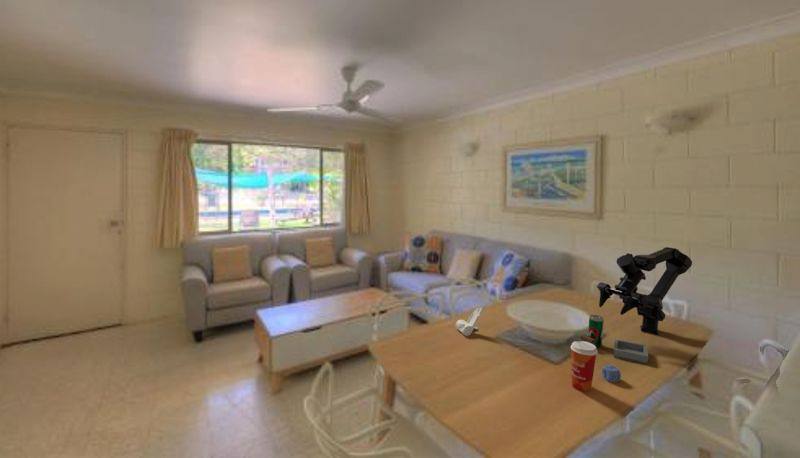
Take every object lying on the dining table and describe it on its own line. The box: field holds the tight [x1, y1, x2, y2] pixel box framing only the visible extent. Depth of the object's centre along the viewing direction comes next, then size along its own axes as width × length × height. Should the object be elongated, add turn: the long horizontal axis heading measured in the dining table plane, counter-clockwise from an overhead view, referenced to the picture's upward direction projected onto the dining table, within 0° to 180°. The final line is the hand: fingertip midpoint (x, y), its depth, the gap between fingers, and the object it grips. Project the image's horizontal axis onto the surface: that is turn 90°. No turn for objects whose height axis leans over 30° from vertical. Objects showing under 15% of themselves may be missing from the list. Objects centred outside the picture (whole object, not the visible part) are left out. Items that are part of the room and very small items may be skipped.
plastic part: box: [455, 303, 484, 337], centre depth 156 cm, size 8×10×12 cm
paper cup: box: [570, 340, 599, 393], centre depth 114 cm, size 8×8×14 cm
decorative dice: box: [601, 364, 622, 383], centre depth 119 cm, size 4×4×4 cm
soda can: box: [587, 314, 604, 348], centre depth 142 cm, size 5×5×12 cm
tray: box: [613, 338, 649, 365], centre depth 135 cm, size 10×10×3 cm
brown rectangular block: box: [579, 334, 595, 345], centre depth 141 cm, size 2×5×4 cm, turn 23°
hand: (610, 310), depth 144 cm, fingers open, 9 cm apart
